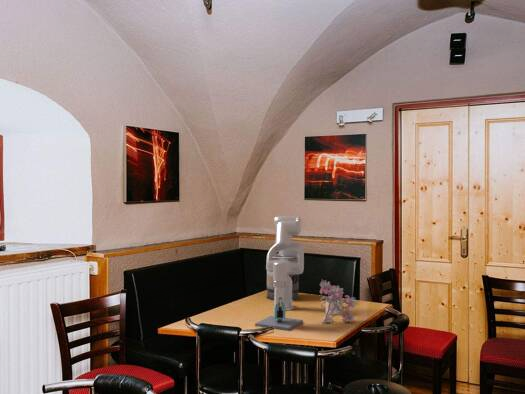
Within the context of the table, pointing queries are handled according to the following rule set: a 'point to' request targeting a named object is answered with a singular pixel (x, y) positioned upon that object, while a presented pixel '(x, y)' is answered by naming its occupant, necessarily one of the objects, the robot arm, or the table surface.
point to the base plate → (279, 323)
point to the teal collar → (276, 312)
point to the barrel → (293, 276)
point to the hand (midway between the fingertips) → (279, 315)
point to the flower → (336, 302)
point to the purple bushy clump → (328, 306)
